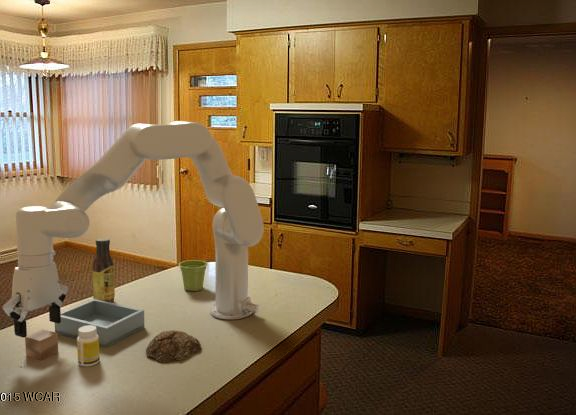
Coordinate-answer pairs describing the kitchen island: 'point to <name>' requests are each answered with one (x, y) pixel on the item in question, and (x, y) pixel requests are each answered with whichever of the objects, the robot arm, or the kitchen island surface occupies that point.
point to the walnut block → (41, 344)
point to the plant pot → (193, 274)
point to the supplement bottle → (88, 346)
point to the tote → (101, 321)
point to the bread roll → (172, 346)
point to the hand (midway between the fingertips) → (38, 328)
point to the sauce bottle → (103, 272)
